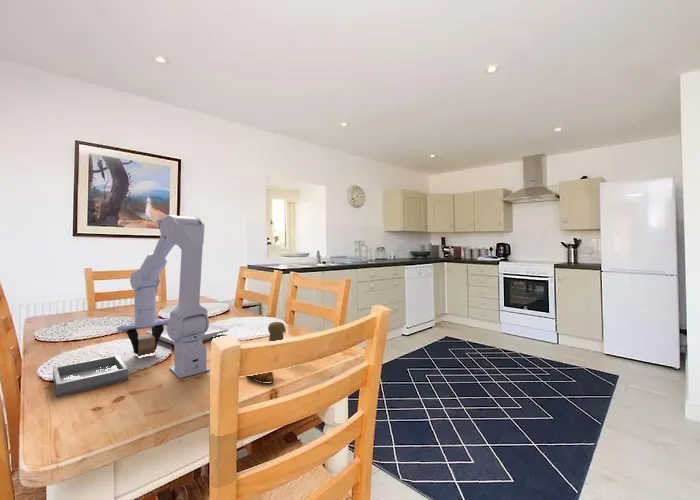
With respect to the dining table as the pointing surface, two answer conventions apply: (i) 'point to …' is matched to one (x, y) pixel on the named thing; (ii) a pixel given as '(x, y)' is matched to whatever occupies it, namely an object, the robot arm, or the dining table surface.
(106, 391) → the dining table surface
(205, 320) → the robot arm
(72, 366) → the tray
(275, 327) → the cork
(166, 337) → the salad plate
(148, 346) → the walnut block
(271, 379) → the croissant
